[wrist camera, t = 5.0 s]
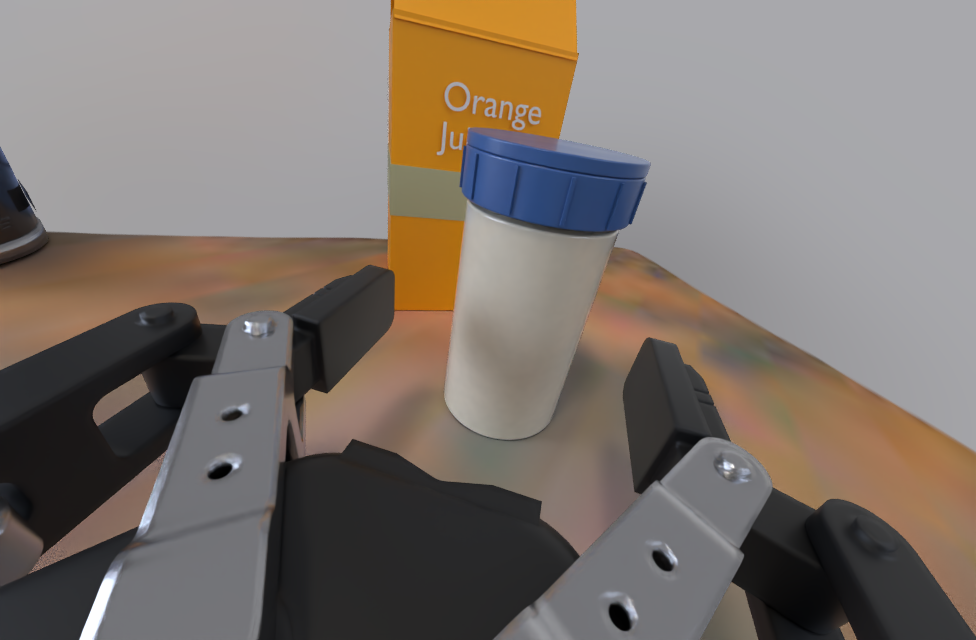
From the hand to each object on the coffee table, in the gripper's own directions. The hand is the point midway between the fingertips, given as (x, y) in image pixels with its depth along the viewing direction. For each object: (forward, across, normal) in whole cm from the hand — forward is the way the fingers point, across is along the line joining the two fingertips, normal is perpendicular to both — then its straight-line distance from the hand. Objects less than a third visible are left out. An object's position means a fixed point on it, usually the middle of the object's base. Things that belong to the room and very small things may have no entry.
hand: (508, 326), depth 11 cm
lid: (+3, 0, -5) cm, 6 cm away
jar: (+3, 0, +6) cm, 7 cm away
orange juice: (+13, +6, +6) cm, 16 cm away
